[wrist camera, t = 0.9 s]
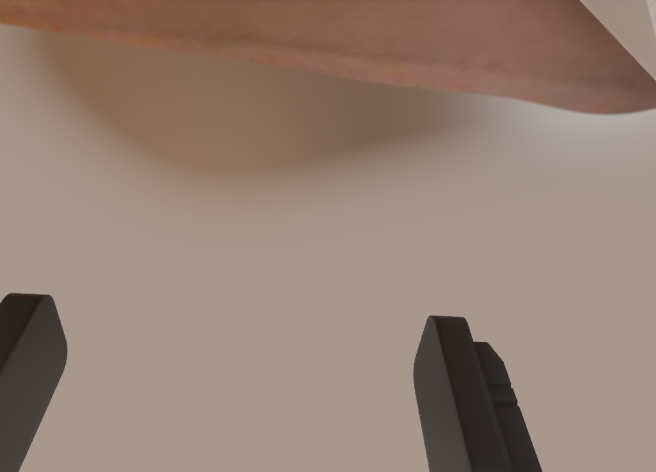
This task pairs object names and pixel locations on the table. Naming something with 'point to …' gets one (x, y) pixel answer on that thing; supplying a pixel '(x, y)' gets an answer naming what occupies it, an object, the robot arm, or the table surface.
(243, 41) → the table surface
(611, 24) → the milk carton
